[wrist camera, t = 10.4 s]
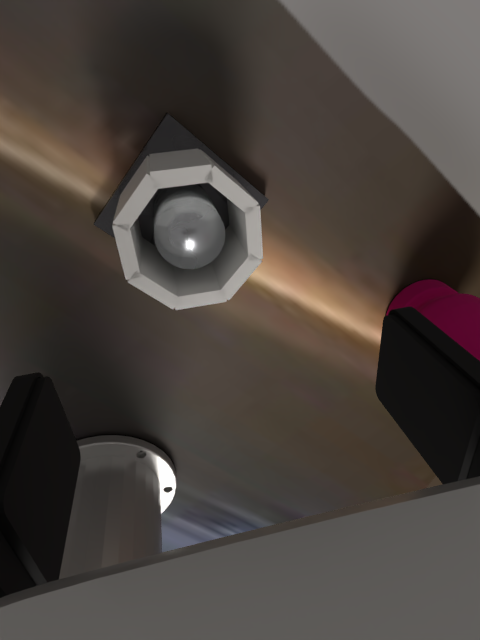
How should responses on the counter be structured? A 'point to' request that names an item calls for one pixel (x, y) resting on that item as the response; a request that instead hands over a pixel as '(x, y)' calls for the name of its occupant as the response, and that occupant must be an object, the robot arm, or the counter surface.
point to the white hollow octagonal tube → (144, 257)
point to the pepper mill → (445, 311)
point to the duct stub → (180, 205)
